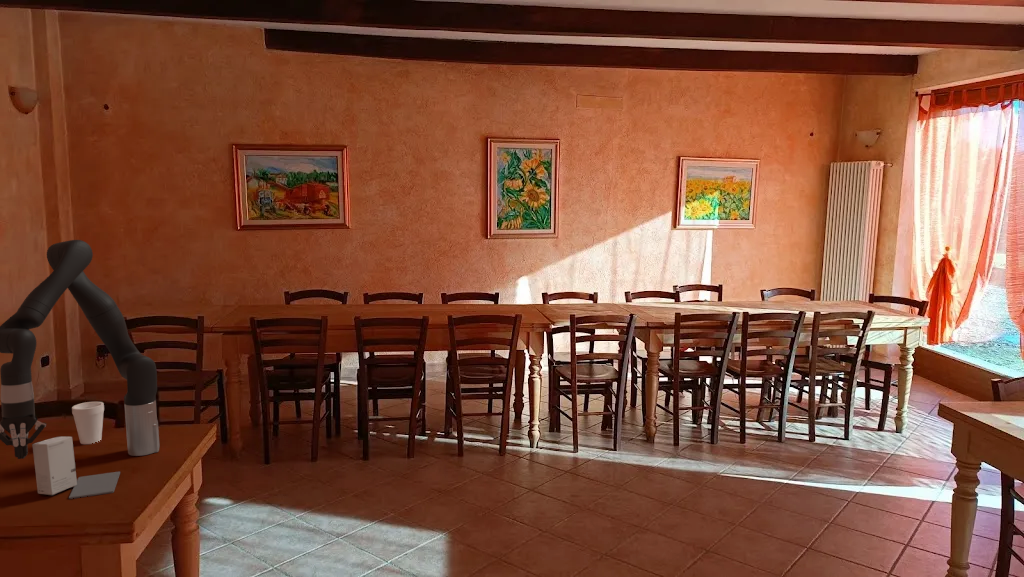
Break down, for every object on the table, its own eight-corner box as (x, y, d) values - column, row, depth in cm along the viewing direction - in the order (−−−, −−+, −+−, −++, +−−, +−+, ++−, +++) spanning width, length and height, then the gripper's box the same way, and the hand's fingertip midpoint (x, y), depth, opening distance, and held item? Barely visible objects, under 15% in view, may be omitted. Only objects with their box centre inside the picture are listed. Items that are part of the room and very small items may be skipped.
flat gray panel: (120, 472, 212) (120, 471, 212) (113, 492, 197) (113, 491, 197) (78, 478, 207) (78, 477, 207) (68, 499, 193) (68, 497, 193)
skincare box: (52, 495, 194) (46, 445, 192) (36, 494, 195) (30, 444, 194) (78, 484, 202) (73, 435, 200) (63, 483, 203) (57, 434, 202)
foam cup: (72, 440, 241) (69, 405, 239) (102, 434, 247) (99, 400, 245) (78, 447, 234) (75, 411, 232) (109, 441, 240) (106, 405, 238)
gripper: (48, 393, 198) (52, 450, 200) (-7, 397, 193) (-3, 456, 195) (42, 399, 191) (46, 459, 193) (-16, 404, 186) (-11, 465, 188)
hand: (21, 457), depth 194 cm, fingers closed
